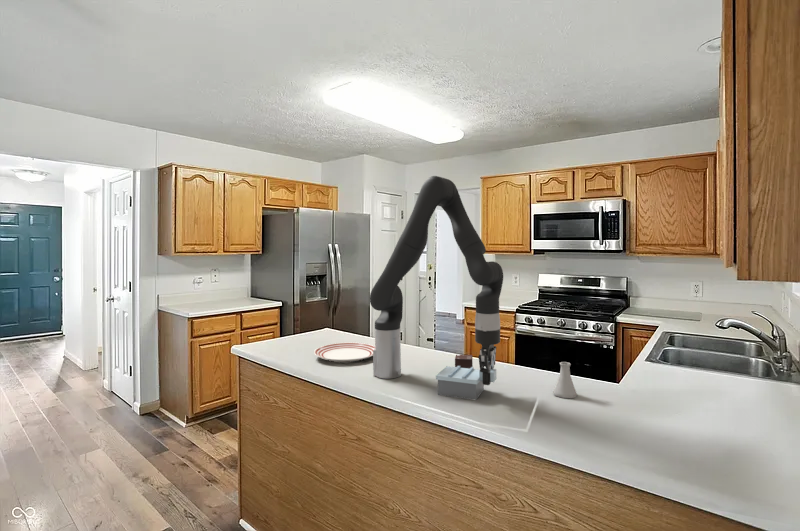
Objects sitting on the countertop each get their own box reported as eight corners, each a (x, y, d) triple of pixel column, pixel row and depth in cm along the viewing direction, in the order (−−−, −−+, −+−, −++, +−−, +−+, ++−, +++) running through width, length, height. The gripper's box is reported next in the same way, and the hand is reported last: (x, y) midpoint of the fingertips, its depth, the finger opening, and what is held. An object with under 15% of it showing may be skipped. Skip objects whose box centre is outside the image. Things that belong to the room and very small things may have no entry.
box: (472, 380, 150) (472, 359, 150) (454, 379, 151) (454, 358, 151) (472, 374, 156) (472, 354, 156) (456, 374, 157) (455, 354, 157)
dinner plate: (392, 355, 185) (392, 348, 185) (343, 370, 165) (343, 361, 165) (349, 346, 203) (349, 339, 203) (300, 358, 183) (300, 350, 183)
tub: (438, 396, 134) (437, 379, 134) (448, 386, 144) (447, 370, 143) (475, 401, 130) (475, 383, 129) (483, 391, 139) (483, 374, 138)
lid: (435, 379, 134) (435, 369, 134) (446, 369, 144) (446, 360, 144) (491, 386, 127) (491, 376, 127) (498, 375, 137) (498, 366, 137)
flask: (575, 400, 129) (575, 367, 129) (550, 396, 133) (550, 364, 132) (579, 393, 135) (579, 361, 135) (555, 389, 139) (555, 358, 139)
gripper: (481, 322, 140) (481, 374, 141) (469, 330, 127) (469, 388, 128) (504, 323, 137) (504, 377, 138) (495, 332, 124) (495, 391, 125)
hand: (487, 382), depth 133 cm, fingers closed on lid, 3 cm apart
